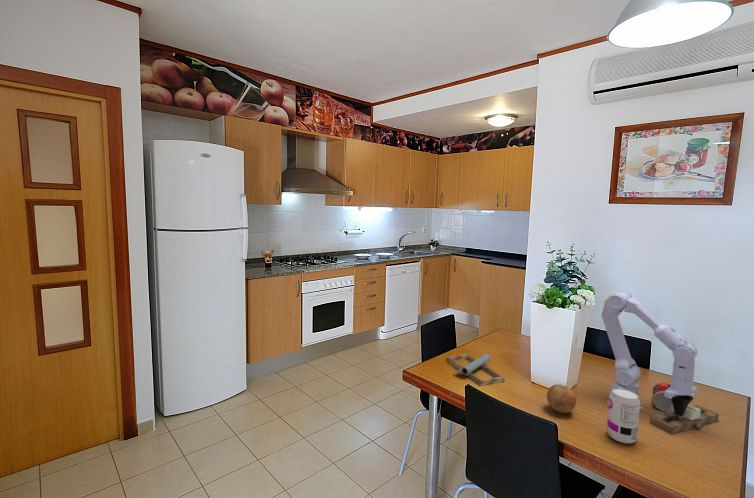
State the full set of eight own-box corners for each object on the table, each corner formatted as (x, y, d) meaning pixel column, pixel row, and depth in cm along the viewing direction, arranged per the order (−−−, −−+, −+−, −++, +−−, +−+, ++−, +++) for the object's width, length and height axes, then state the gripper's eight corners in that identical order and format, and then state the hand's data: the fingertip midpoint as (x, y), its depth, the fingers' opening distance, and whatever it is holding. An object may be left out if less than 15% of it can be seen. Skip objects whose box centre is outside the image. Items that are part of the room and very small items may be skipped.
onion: (575, 408, 138) (577, 383, 137) (574, 421, 130) (576, 394, 129) (547, 401, 143) (549, 377, 142) (544, 413, 135) (546, 387, 134)
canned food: (681, 401, 143) (682, 412, 134) (656, 401, 148) (656, 412, 139) (674, 381, 144) (675, 391, 135) (649, 382, 149) (649, 392, 140)
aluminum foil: (467, 376, 160) (468, 368, 159) (454, 371, 164) (454, 364, 164) (490, 361, 176) (490, 354, 176) (477, 357, 181) (478, 351, 181)
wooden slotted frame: (675, 436, 122) (676, 429, 122) (645, 421, 131) (646, 414, 131) (722, 422, 131) (723, 416, 131) (691, 409, 140) (692, 403, 140)
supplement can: (603, 436, 121) (607, 393, 120) (610, 427, 127) (614, 385, 125) (633, 448, 115) (637, 402, 114) (638, 437, 121) (642, 394, 120)
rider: (690, 427, 127) (692, 411, 127) (669, 417, 133) (671, 402, 133) (699, 424, 129) (701, 409, 128) (678, 415, 135) (680, 400, 134)
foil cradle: (480, 385, 155) (480, 381, 155) (446, 361, 181) (446, 357, 181) (504, 381, 159) (504, 377, 159) (467, 358, 185) (467, 354, 185)
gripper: (682, 385, 122) (678, 423, 123) (708, 379, 127) (704, 416, 128) (659, 376, 128) (655, 413, 130) (685, 370, 134) (682, 406, 135)
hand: (678, 414), depth 129 cm, fingers closed
